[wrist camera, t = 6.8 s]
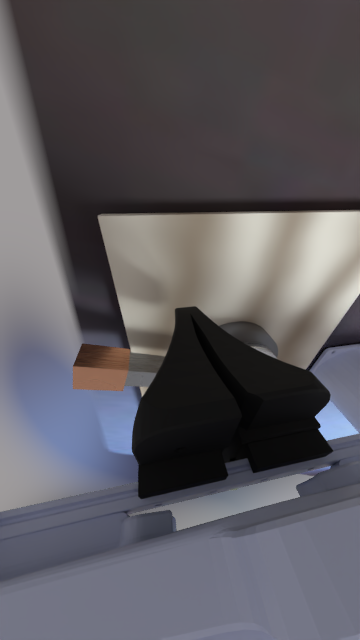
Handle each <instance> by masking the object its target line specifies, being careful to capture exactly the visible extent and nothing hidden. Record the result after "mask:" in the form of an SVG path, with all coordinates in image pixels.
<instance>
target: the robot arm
mask: <svg viewBox="0 0 360 640" xmlns="http://www.w3.org/2000/svg"><path fill="white" fill-rule="evenodd" d="M329 400H330V401H331V402H332V403H333V404H334V405H335V406H336V407H337V409H338V410H339V411H340V412H341V413H342V414H343V415H344V416H345V418H346V419H347V420H348V421H349V422H350V423H351V424H352V425H353V427H354V428H355V429H356V430H357V431H358V432H359V433H360V344H354V345H346V346H339V347H332V348H327V349H325V350H324V351H323V353H322V354H321V355H320V357H319V358H318V360H317V361H316V362H315V364H314V365H313V366H312V368H311V369H310V370H309V371H308V370H305V369H302V368H299V367H297V366H294V365H291V364H288V363H286V362H283V361H281V360H278V359H276V358H273V357H271V356H269V355H267V354H264V353H262V352H260V351H258V350H256V349H254V348H252V347H250V346H249V345H247V344H245V343H243V342H241V341H240V340H238V339H237V338H235V337H233V336H232V335H230V334H229V333H227V332H226V331H225V330H223V329H222V328H221V327H219V326H218V325H217V324H215V323H214V322H213V321H212V320H211V319H210V318H208V317H207V316H206V315H205V314H204V313H203V312H202V311H201V310H200V309H198V308H197V307H196V306H192V307H182V308H176V309H175V328H174V332H173V336H172V340H171V343H170V346H169V348H168V351H167V354H166V356H165V358H164V360H163V363H162V365H161V367H160V368H159V370H158V372H157V374H156V376H155V378H154V379H153V381H152V383H151V384H150V386H149V387H148V389H147V390H146V392H145V393H144V395H143V396H142V398H141V401H140V404H139V407H138V410H137V414H136V417H135V421H134V426H133V434H132V452H133V454H134V456H135V458H136V460H137V462H138V464H139V471H138V482H136V483H131V484H127V485H122V486H118V487H113V488H108V489H104V490H100V491H94V492H90V493H85V494H81V495H76V496H72V497H67V498H62V499H58V500H54V501H49V502H44V503H40V504H35V505H30V506H26V507H21V508H17V509H12V510H8V511H3V512H0V640H360V434H356V435H351V436H347V437H342V438H337V439H333V440H328V441H326V440H325V438H324V437H323V436H322V434H321V433H320V432H319V430H318V429H319V428H320V424H319V422H318V421H317V420H316V418H315V416H316V415H317V414H318V413H319V412H320V411H321V410H322V409H323V408H324V407H325V406H326V404H327V403H328V402H329ZM328 466H331V468H330V469H329V470H326V471H323V472H320V473H318V474H317V475H315V476H314V477H313V478H311V479H309V480H307V481H305V482H303V483H301V484H298V485H297V486H296V489H297V491H298V493H299V495H300V497H299V498H295V499H291V500H288V501H283V502H279V503H276V504H272V505H269V506H265V507H261V508H257V509H254V510H250V511H246V512H243V513H239V514H236V515H232V516H228V517H225V518H222V519H218V520H214V521H211V522H207V523H204V524H200V525H197V526H193V527H190V528H186V529H183V530H179V531H176V520H175V518H174V517H173V516H172V512H171V511H170V510H166V511H159V512H152V513H145V514H140V515H135V516H131V517H130V516H129V515H128V514H132V513H136V512H140V511H144V510H148V509H153V508H156V507H160V506H165V505H169V504H174V503H178V502H182V501H186V500H190V499H194V498H198V497H203V496H207V495H211V494H215V493H219V492H223V491H228V490H232V489H236V488H240V487H244V486H249V485H253V484H257V483H261V482H265V481H269V480H273V479H278V478H282V477H286V476H290V475H294V474H299V473H303V472H307V471H311V470H315V469H320V468H324V467H328Z"/></svg>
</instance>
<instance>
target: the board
mask: <svg viewBox="0 0 360 640" xmlns="http://www.w3.org/2000/svg"><path fill="white" fill-rule="evenodd" d="M98 220H99V224H100V228H101V232H102V236H103V240H104V244H105V249H106V253H107V257H108V261H109V265H110V269H111V273H112V277H113V281H114V285H115V289H116V293H117V297H118V301H119V305H120V309H121V313H122V317H123V321H124V325H125V329H126V333H127V337H128V341H129V345H130V349H131V352H132V353H141V354H150V355H159V356H166V354H167V351H168V348H169V346H170V343H171V340H172V336H173V332H174V328H175V309H176V308H182V307H192V306H196V307H197V308H198V309H200V310H201V311H202V312H203V313H204V314H205V315H206V316H207V317H208V318H210V319H211V320H212V321H213V322H214V323H215V324H217V325H218V326H219V327H221V328H222V329H223V330H225V331H226V332H227V333H229V334H230V335H232V336H233V337H235V338H237V339H238V340H240V341H241V342H243V343H244V342H256V343H261V344H263V345H265V346H267V347H268V348H269V349H270V350H271V351H272V352H273V354H274V355H275V356H276V358H277V359H278V360H281V361H283V362H286V363H288V364H291V365H294V366H297V367H299V368H302V369H305V370H306V369H307V367H308V366H309V364H310V363H311V362H312V360H313V359H314V357H315V356H316V355H317V353H318V352H319V350H320V349H321V347H322V346H323V345H324V343H325V342H326V340H327V339H328V338H329V336H330V335H331V333H332V332H333V331H334V329H335V328H336V326H337V325H338V323H339V322H340V321H341V319H342V318H343V316H344V315H345V314H346V312H347V311H348V309H349V308H350V306H351V305H352V304H353V302H354V301H355V299H356V298H357V297H358V295H359V294H360V210H321V211H257V212H193V213H130V214H100V215H99V216H98ZM147 389H148V387H140V390H141V394H142V396H143V395H144V393H145V392H146V390H147Z"/></svg>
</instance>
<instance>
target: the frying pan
mask: <svg viewBox="0 0 360 640" xmlns="http://www.w3.org/2000/svg"><path fill="white" fill-rule="evenodd" d="M244 343H245V344H247V345H249V346H250V347H252V348H254V349H256V350H258V351H260V352H262V353H264V354H267V355H269V356H271V357H273V358H276V356H275V355H274V354H273V352H272V351H271V350H270V349H269V348H268V347H267V346H265V345H263V344H261V343H256V342H244ZM164 358H165V356H159V355H150V354H141V353H132V352H130V349H124V348H116V347H107V346H99V345H90V344H82V346H81V348H80V351H79V353H78V355H77V358H76V361H75V363H74V365H73V389H86V390H111V391H123V389H124V386H139V387H149V386H150V384H151V383H152V381H153V379H154V378H155V376H156V374H157V372H158V370H159V368H160V367H161V365H162V363H163V360H164ZM276 359H277V358H276Z"/></svg>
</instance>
